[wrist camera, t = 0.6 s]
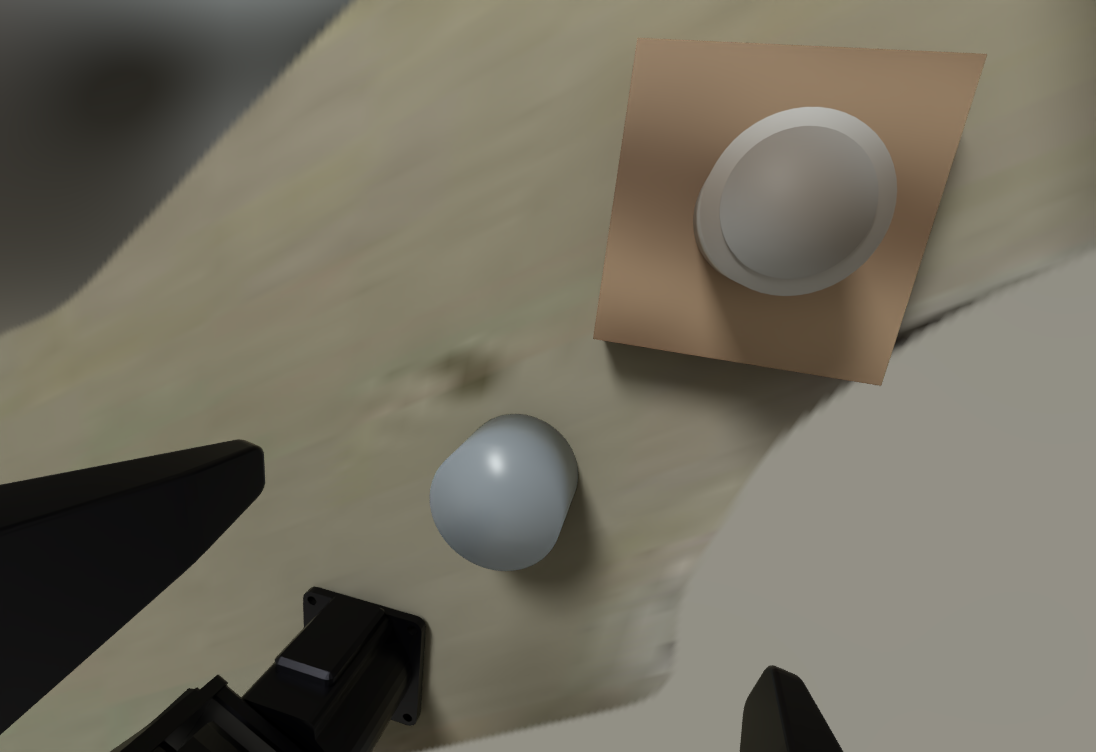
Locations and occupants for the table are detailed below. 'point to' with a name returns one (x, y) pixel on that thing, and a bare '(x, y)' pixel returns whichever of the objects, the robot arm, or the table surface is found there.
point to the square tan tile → (778, 200)
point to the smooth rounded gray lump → (505, 492)
